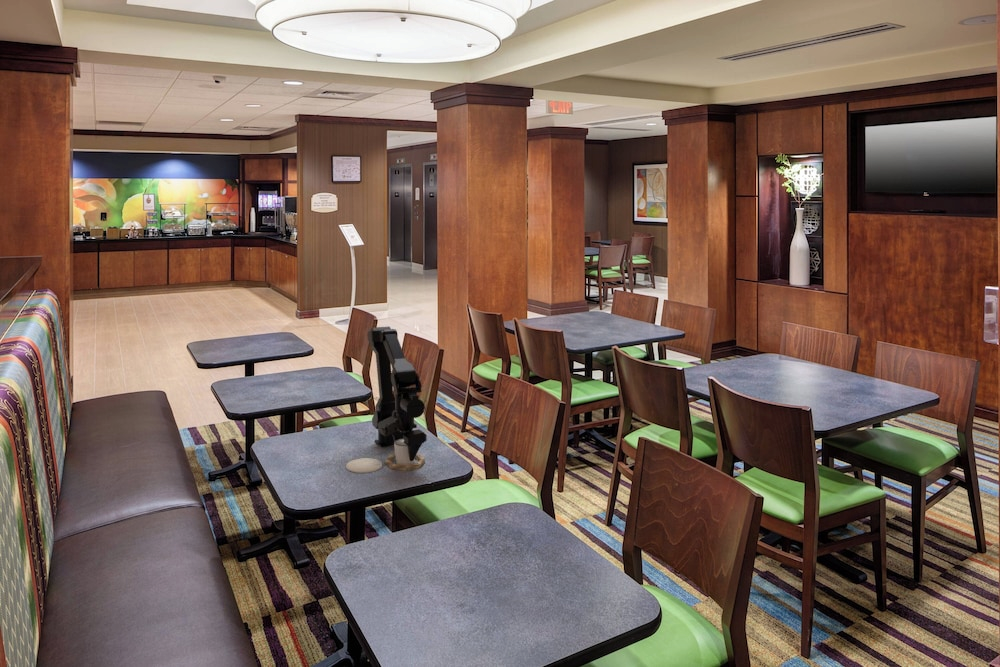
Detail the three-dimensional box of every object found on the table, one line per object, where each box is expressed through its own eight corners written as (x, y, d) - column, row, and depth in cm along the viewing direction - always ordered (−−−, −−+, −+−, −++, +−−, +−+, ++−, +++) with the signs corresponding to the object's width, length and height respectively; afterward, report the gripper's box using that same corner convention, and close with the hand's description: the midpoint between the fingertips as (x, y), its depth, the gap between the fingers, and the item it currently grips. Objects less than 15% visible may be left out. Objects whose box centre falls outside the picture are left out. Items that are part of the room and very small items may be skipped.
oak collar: (381, 460, 227) (381, 456, 226) (413, 453, 233) (413, 450, 232) (396, 472, 217) (395, 469, 217) (429, 465, 223) (429, 461, 223)
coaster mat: (340, 463, 224) (340, 462, 224) (374, 456, 229) (374, 455, 229) (353, 475, 215) (353, 474, 214) (388, 468, 220) (387, 467, 220)
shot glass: (418, 459, 228) (418, 438, 227) (413, 467, 221) (413, 446, 220) (397, 458, 229) (396, 437, 227) (391, 466, 222) (391, 445, 221)
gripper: (368, 404, 225) (369, 451, 228) (393, 420, 209) (393, 471, 213) (401, 399, 231) (401, 445, 234) (427, 415, 215) (427, 464, 218)
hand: (405, 456), depth 225 cm, fingers open, 9 cm apart
